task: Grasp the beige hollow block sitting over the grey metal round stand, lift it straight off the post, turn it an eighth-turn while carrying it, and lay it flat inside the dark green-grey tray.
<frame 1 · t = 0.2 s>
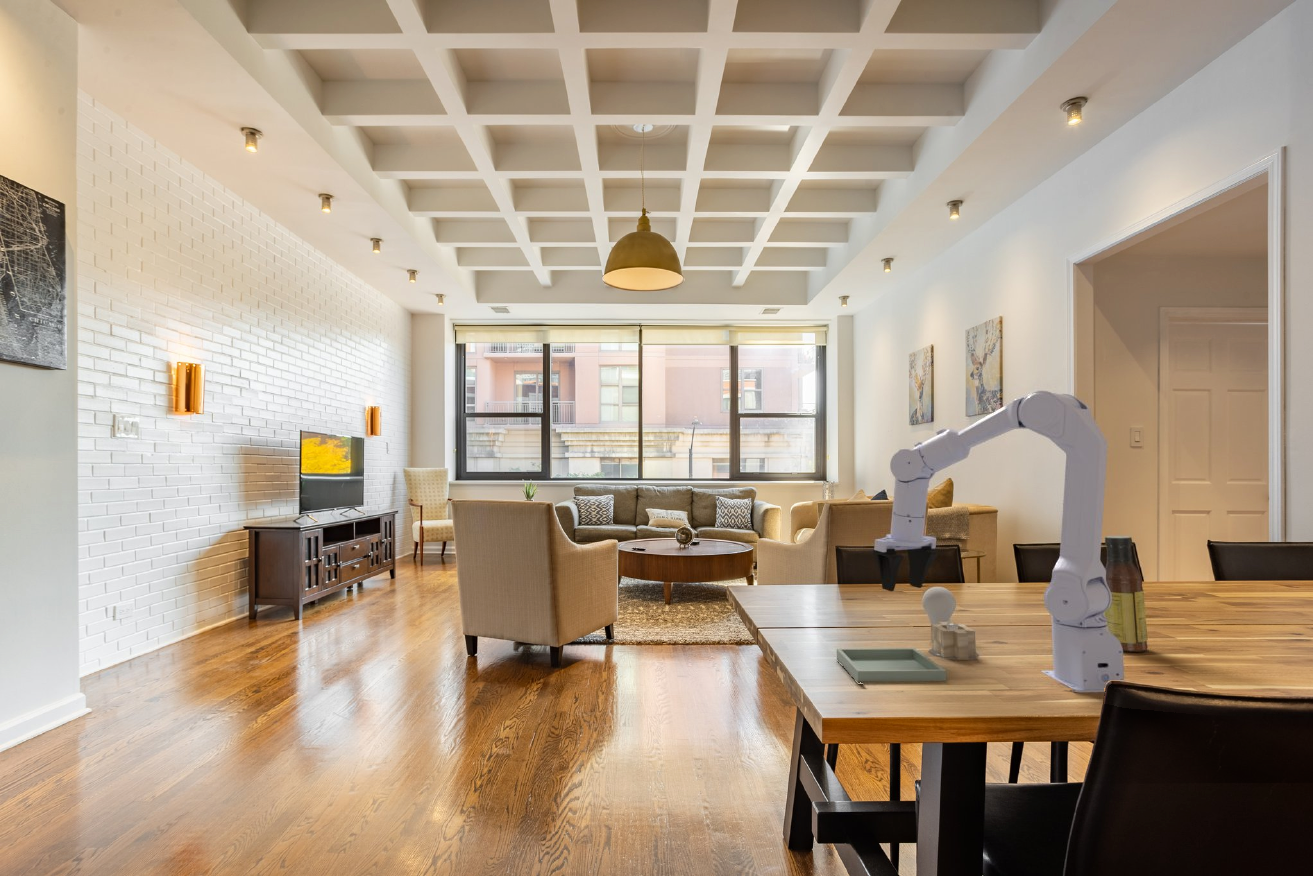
hand: (901, 588, 127), 10 cm above the table, tool pointing down, fingers open, 7 cm apart
tray: (888, 671, 110), on the table
sauce bottle: (1125, 650, 123), on the table
beige hollow block: (953, 653, 119), resting on grey metal round stand
grey metal round stand: (953, 656, 119), on the table
light bulb: (940, 641, 130), on the table
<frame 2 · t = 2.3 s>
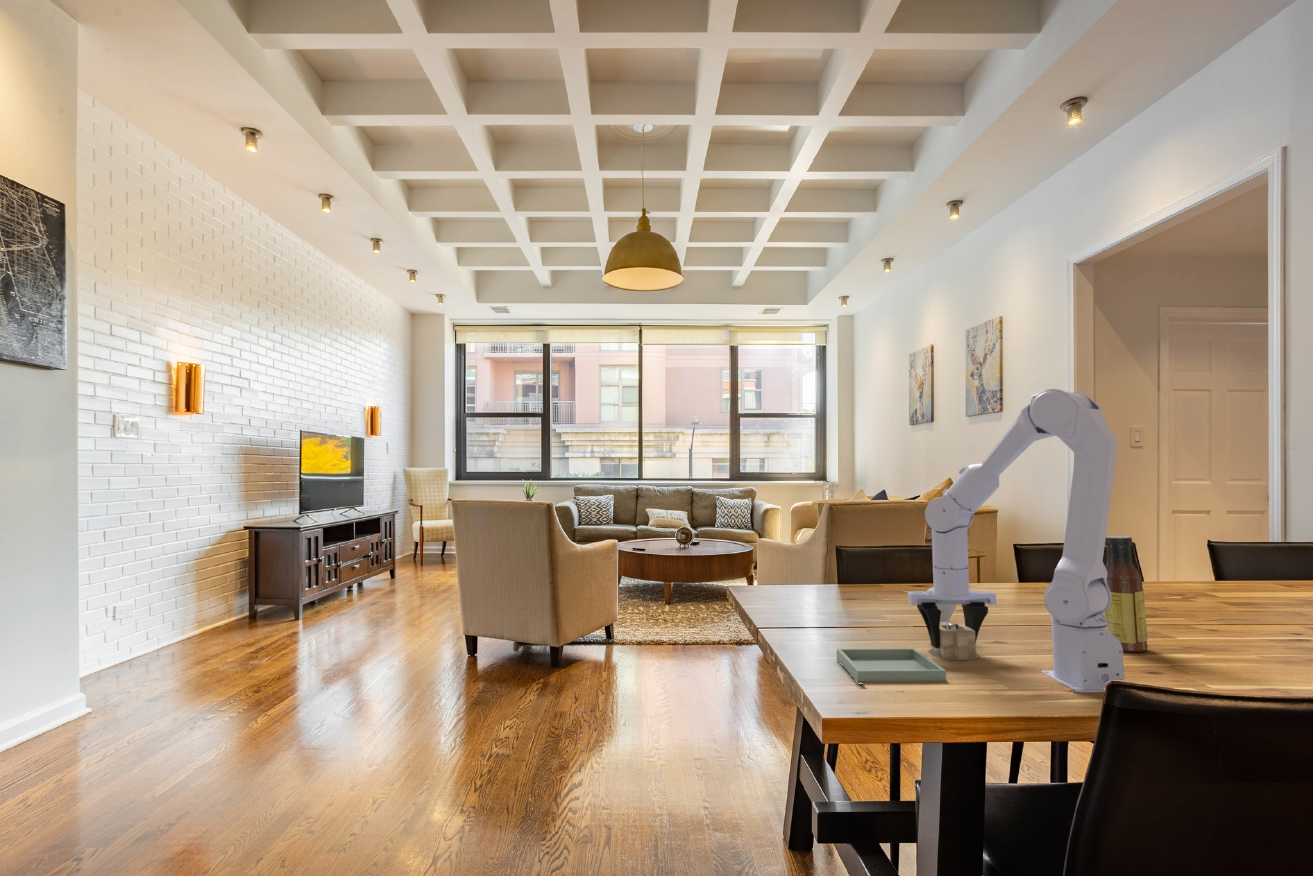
hand: (953, 646, 119), 2 cm above the table, tool pointing down, fingers closed on beige hollow block, 5 cm apart
beige hollow block: (953, 653, 119), resting on grey metal round stand, touching gripper
everything else where it was.
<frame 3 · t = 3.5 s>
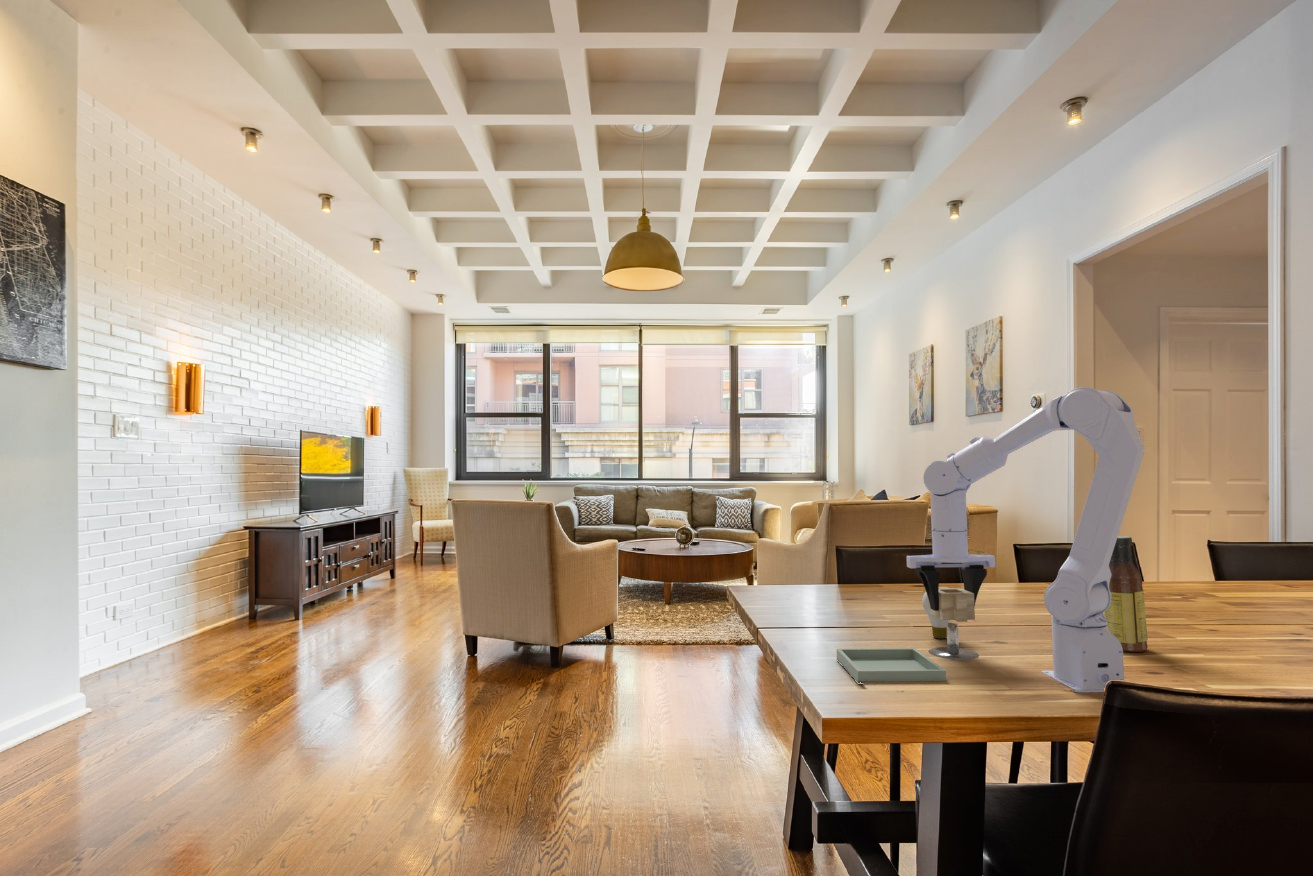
hand: (952, 609, 120), 8 cm above the table, tool pointing down, fingers closed on beige hollow block, 5 cm apart
beige hollow block: (952, 616, 120), point 7 cm above the table, touching gripper
everything else where it was.
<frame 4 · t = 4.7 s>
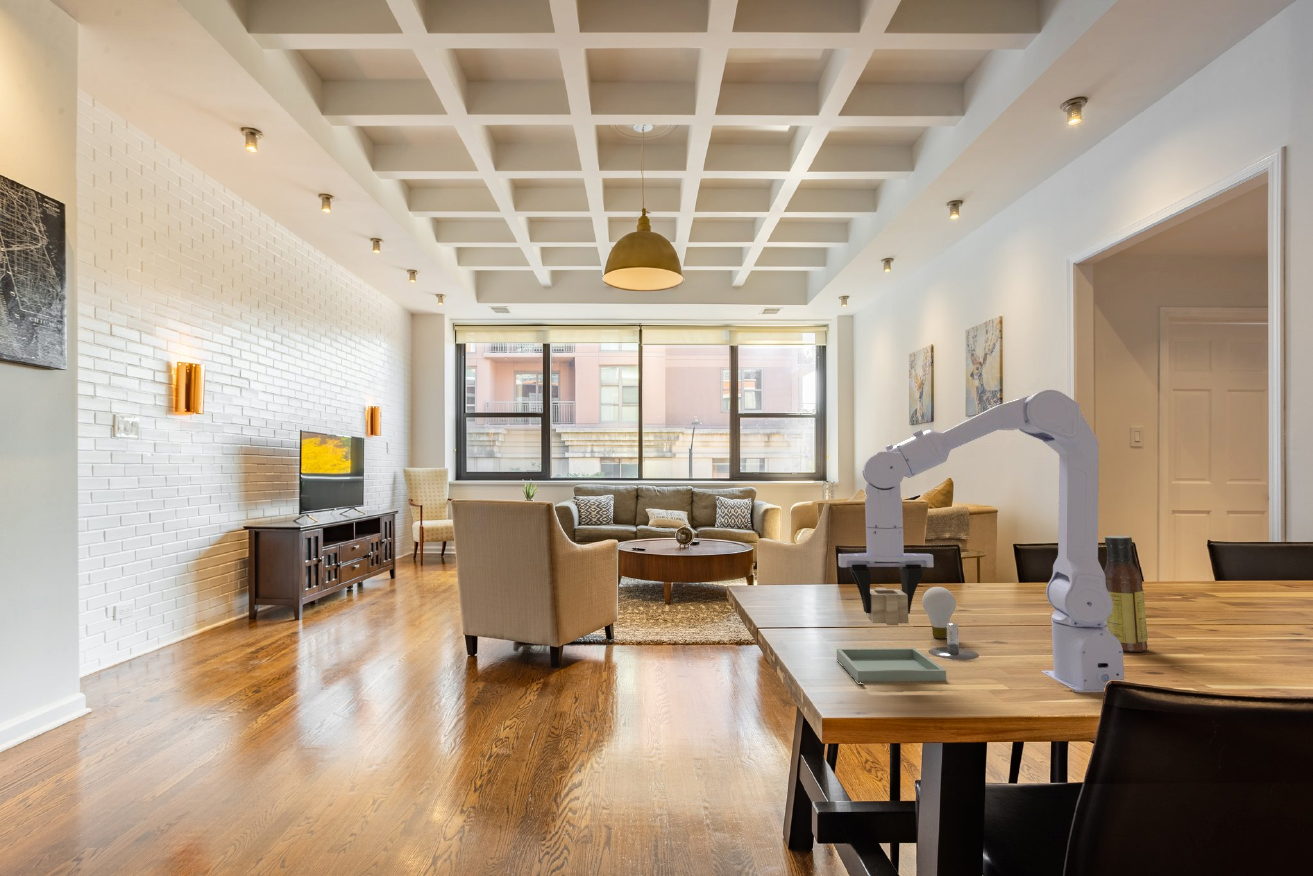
hand: (886, 612, 111), 9 cm above the table, tool pointing down, fingers closed on beige hollow block, 5 cm apart
beige hollow block: (886, 619, 111), point 8 cm above the table, touching gripper
everything else where it was.
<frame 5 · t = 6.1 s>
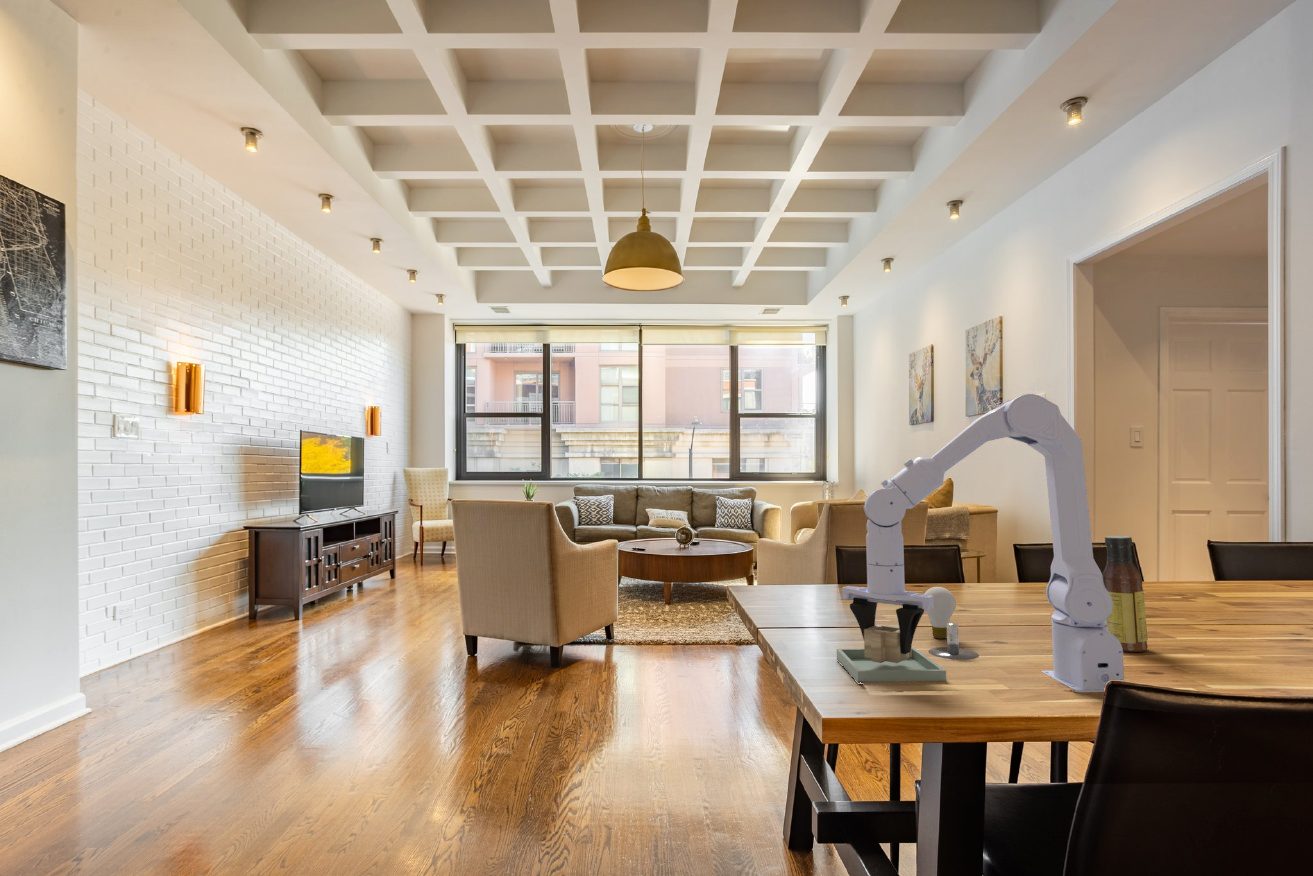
hand: (887, 649, 111), 4 cm above the table, tool pointing down, fingers closed on beige hollow block, 5 cm apart
beige hollow block: (888, 656, 111), point 2 cm above the table, touching gripper
everything else where it was.
when the fingers open (3 cm above the table, at t = 7.2 s): beige hollow block drops 1 cm, resting on tray.
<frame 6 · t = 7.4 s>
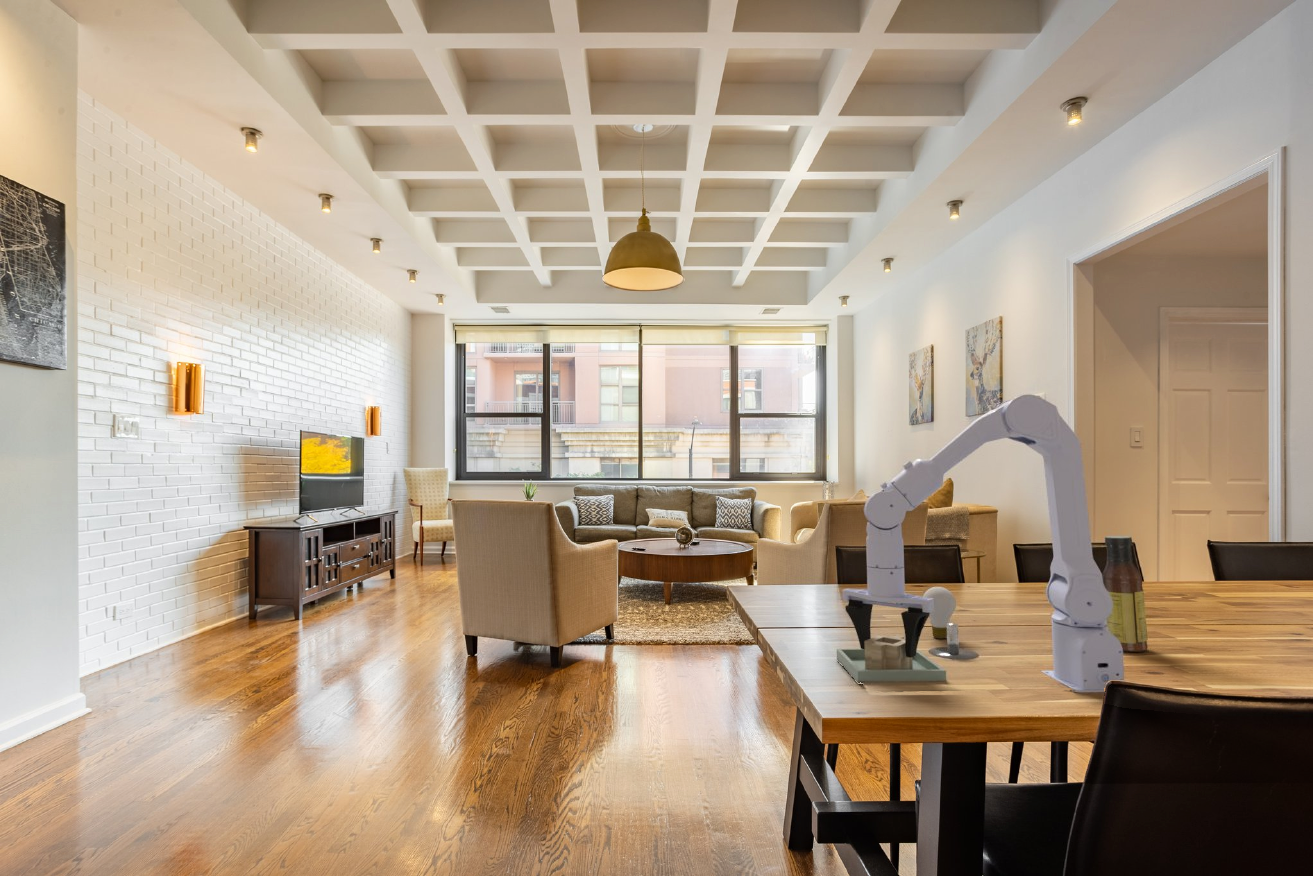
hand: (887, 652, 111), 3 cm above the table, tool pointing down, fingers open, 7 cm apart
beige hollow block: (888, 668, 111), resting on tray
everything else where it was.
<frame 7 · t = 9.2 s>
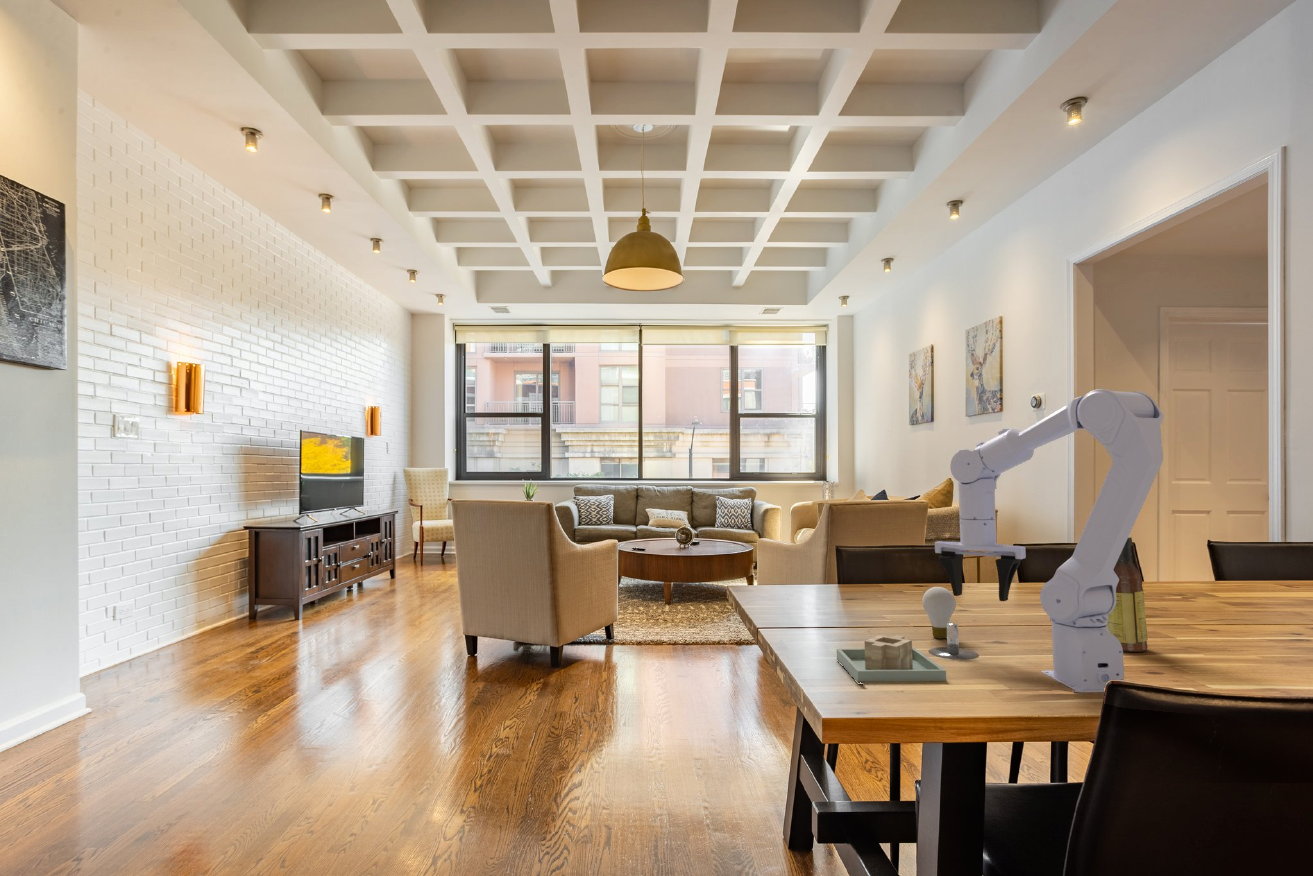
hand: (980, 597, 120), 10 cm above the table, tool pointing down, fingers open, 7 cm apart
nothing on the table moved.
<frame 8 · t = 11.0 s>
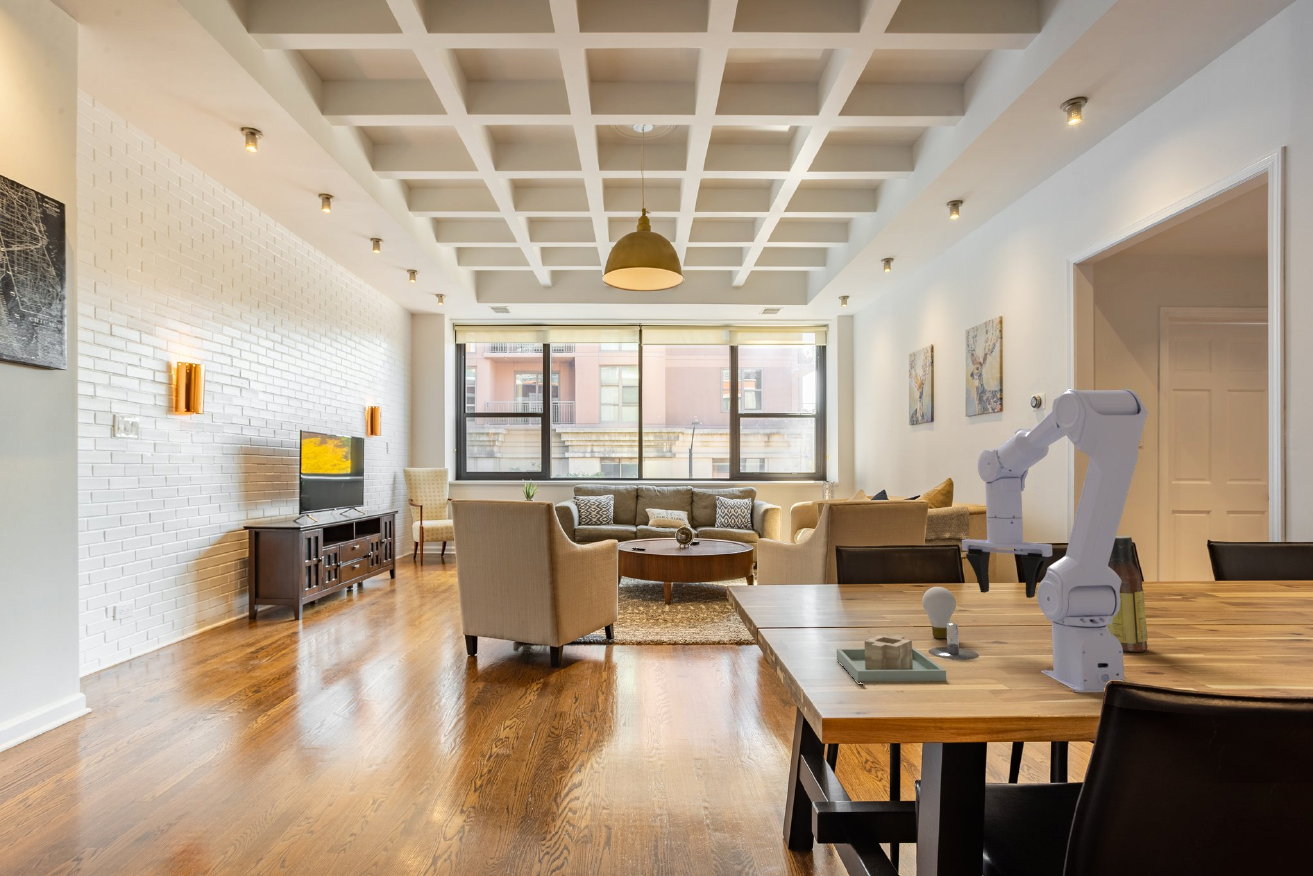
hand: (1007, 594, 122), 10 cm above the table, tool pointing down, fingers open, 7 cm apart
nothing on the table moved.
at the end: beige hollow block inside the target area on the tray (0.1 cm from its centre), point 0.5 cm above the tray's base; beige hollow block tilted 0°; the gripper is holding nothing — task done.
